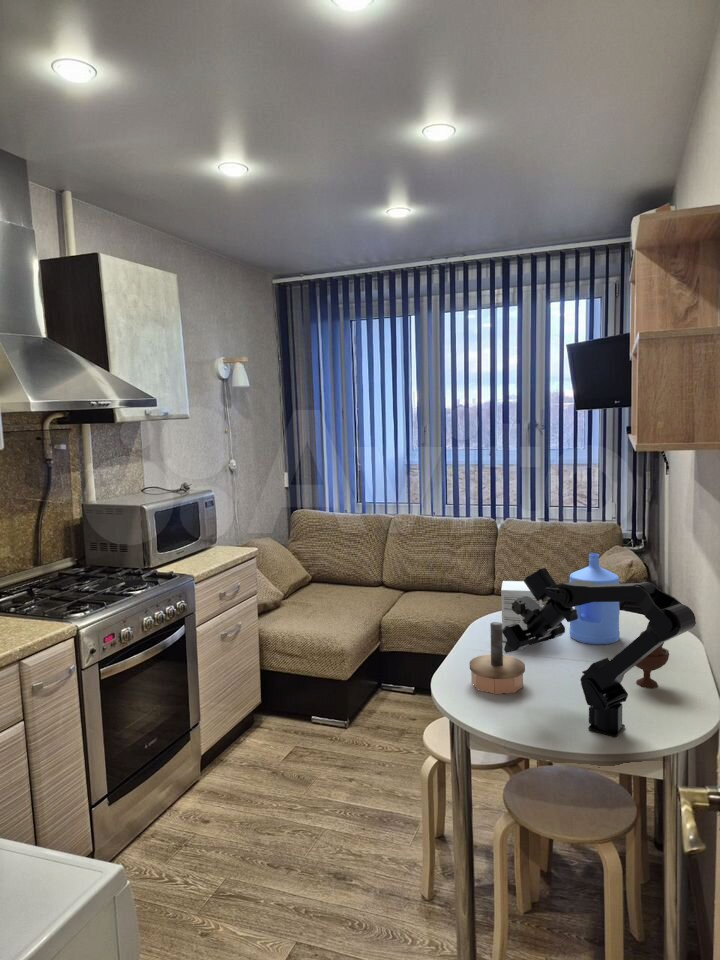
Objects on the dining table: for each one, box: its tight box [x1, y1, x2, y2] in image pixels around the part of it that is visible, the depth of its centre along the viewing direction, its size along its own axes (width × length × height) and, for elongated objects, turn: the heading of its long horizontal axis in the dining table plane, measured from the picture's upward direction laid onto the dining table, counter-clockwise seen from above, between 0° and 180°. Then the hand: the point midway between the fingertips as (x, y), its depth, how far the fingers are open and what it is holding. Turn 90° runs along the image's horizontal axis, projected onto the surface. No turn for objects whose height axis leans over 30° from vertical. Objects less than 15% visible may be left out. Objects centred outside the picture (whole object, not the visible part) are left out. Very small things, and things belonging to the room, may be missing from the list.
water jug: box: [568, 553, 621, 646], centre depth 214 cm, size 16×16×28 cm
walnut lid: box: [469, 621, 526, 679], centre depth 178 cm, size 15×15×13 cm
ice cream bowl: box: [625, 630, 670, 689], centre depth 175 cm, size 11×11×15 cm
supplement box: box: [500, 580, 543, 645], centre depth 218 cm, size 13×13×18 cm
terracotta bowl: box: [470, 670, 524, 695], centre depth 179 cm, size 13×13×4 cm
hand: (517, 647), depth 172 cm, fingers open, 9 cm apart
